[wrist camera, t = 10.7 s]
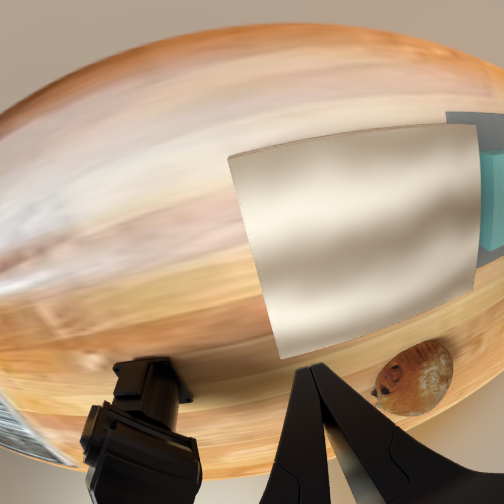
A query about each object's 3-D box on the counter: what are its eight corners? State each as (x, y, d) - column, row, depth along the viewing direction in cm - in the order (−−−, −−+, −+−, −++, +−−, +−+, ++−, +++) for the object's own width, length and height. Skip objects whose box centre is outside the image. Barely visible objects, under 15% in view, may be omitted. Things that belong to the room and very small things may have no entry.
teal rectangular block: (490, 251, 19) (474, 242, 21) (519, 237, 19) (504, 229, 21) (492, 155, 16) (473, 151, 18) (521, 152, 15) (505, 148, 18)
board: (447, 270, 23) (472, 289, 19) (273, 327, 23) (280, 359, 19) (443, 123, 17) (476, 124, 14) (228, 156, 18) (227, 159, 14)
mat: (518, 245, 23) (520, 246, 22) (450, 278, 23) (452, 279, 23) (518, 116, 16) (520, 116, 16) (445, 111, 17) (447, 111, 17)
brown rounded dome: (403, 374, 33) (443, 401, 27) (356, 412, 28) (400, 449, 22) (424, 318, 29) (474, 346, 23) (377, 356, 25) (436, 397, 18)
